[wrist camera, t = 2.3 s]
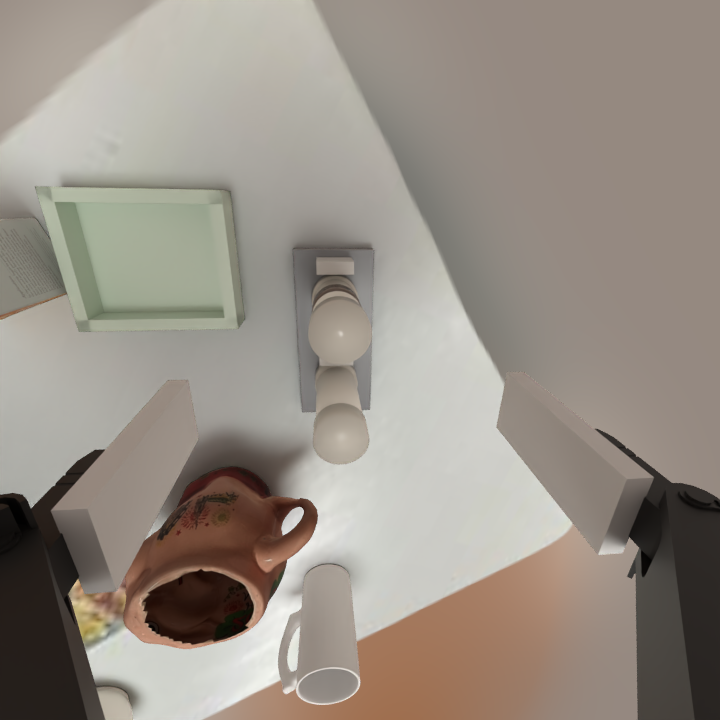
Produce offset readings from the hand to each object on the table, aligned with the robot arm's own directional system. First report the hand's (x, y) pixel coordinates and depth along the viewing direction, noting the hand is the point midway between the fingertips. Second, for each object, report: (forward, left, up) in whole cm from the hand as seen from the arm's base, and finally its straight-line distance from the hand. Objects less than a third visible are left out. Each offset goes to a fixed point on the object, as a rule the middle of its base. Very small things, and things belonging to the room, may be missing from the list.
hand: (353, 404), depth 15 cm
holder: (0, -4, -21) cm, 21 cm away
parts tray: (-15, +3, -21) cm, 26 cm away
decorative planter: (-11, -23, -21) cm, 33 cm away
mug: (-3, -40, -21) cm, 45 cm away
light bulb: (0, 0, -19) cm, 19 cm away
